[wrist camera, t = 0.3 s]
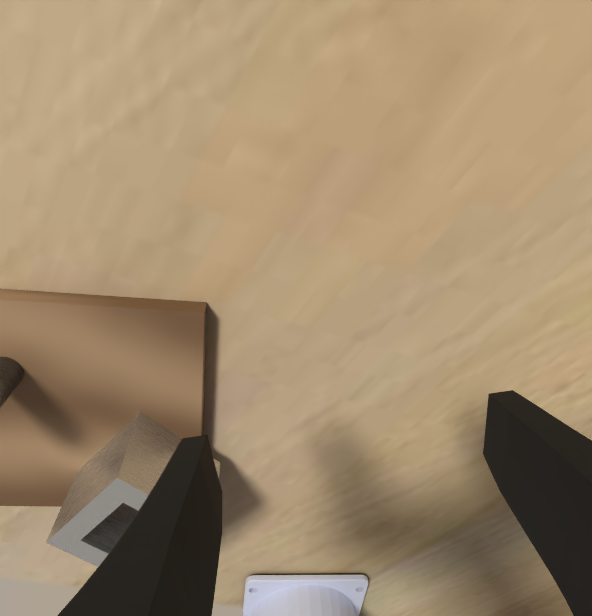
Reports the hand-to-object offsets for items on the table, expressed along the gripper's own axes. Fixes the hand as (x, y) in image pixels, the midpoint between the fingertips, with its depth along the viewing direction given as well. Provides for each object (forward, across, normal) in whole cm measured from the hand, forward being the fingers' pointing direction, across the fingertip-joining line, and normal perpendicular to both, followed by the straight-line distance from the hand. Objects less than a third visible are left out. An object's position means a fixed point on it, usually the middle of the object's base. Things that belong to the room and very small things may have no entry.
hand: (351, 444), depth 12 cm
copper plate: (+10, +12, +4) cm, 16 cm away
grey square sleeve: (+9, +9, +8) cm, 15 cm away
